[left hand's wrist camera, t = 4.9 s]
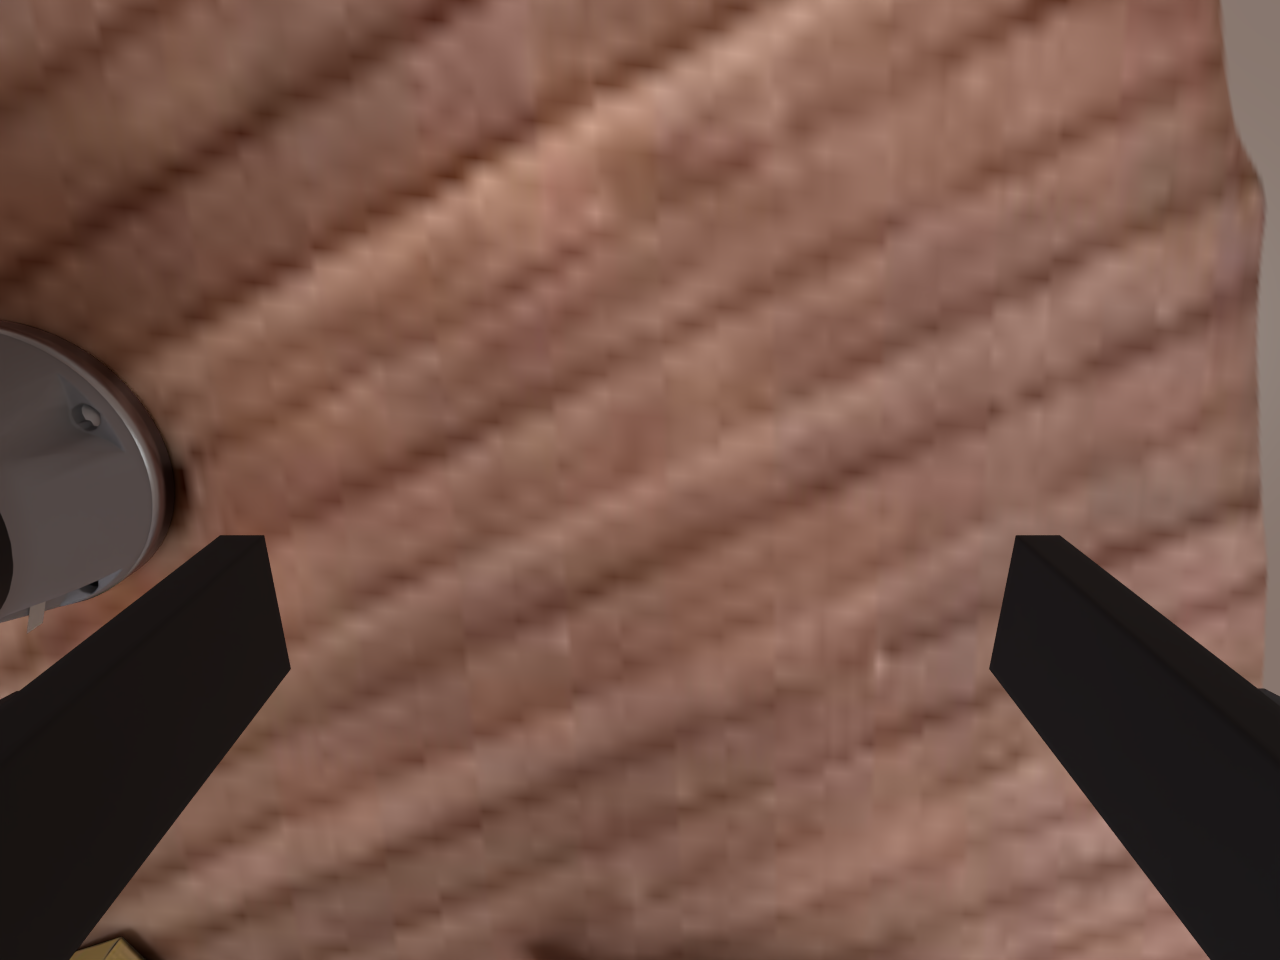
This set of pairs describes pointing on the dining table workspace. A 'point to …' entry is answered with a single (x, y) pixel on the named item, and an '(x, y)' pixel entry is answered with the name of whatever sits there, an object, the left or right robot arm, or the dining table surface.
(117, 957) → the toy
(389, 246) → the dining table surface
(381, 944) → the dining table surface
